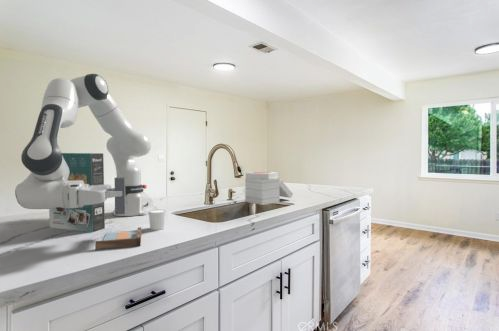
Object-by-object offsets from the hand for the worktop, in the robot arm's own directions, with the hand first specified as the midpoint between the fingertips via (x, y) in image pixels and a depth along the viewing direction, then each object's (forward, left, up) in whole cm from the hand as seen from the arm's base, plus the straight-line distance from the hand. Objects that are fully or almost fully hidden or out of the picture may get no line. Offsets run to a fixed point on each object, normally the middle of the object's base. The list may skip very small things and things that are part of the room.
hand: (123, 192), depth 101 cm
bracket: (-3, -3, -7) cm, 8 cm away
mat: (-2, -2, -17) cm, 17 cm away
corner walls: (0, -1, -17) cm, 17 cm away
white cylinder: (-19, 0, -17) cm, 25 cm away
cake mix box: (-9, -31, -17) cm, 36 cm away
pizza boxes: (-98, +25, -17) cm, 102 cm away
